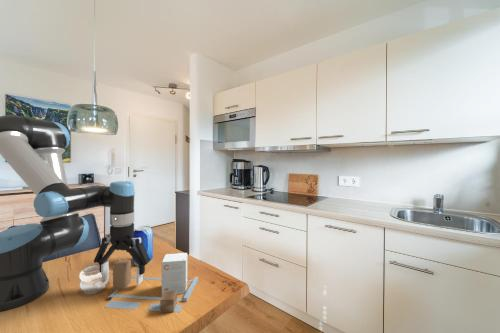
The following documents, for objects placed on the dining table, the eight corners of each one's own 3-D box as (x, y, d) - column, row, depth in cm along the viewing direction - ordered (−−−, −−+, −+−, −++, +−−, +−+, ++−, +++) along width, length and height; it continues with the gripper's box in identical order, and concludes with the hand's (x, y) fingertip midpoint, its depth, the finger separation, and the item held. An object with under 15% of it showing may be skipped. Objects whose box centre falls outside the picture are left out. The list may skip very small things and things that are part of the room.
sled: (104, 299, 70) (104, 270, 70) (127, 279, 82) (127, 254, 82) (186, 305, 68) (187, 275, 68) (198, 283, 81) (198, 258, 80)
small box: (187, 285, 79) (187, 252, 78) (185, 296, 73) (186, 260, 72) (164, 288, 77) (165, 253, 77) (161, 299, 71) (161, 262, 71)
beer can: (127, 265, 93) (128, 229, 93) (141, 256, 101) (142, 224, 101) (143, 267, 91) (144, 231, 91) (156, 259, 99) (156, 226, 99)
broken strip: (104, 310, 65) (104, 307, 65) (111, 304, 68) (111, 300, 68) (179, 315, 64) (179, 312, 64) (182, 309, 67) (182, 305, 67)
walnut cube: (160, 312, 63) (160, 300, 63) (163, 303, 67) (164, 291, 67) (173, 312, 64) (173, 299, 63) (176, 303, 68) (176, 291, 67)
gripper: (81, 226, 72) (81, 286, 73) (149, 228, 71) (149, 289, 72) (98, 219, 80) (98, 274, 80) (160, 222, 78) (159, 277, 79)
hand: (122, 281), depth 76 cm, fingers open, 12 cm apart
